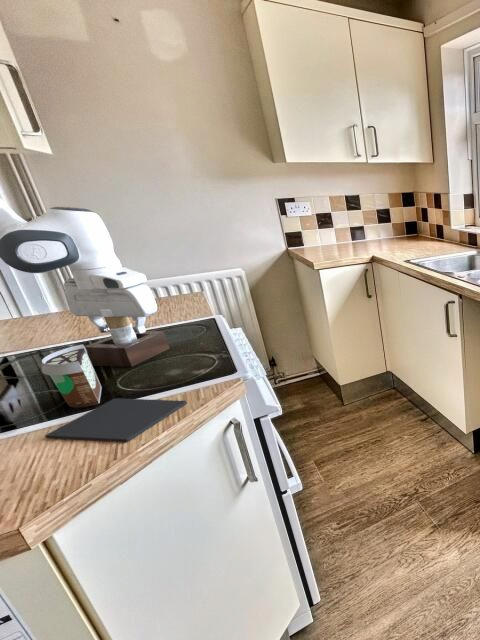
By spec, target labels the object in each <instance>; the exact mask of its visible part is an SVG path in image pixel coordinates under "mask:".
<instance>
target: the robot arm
mask: <svg viewBox="0 0 480 640" xmlns="http://www.w3.org/2000/svg"><path fill="white" fill-rule="evenodd" d="M114 249H115V246H114V243H113V239H112V237H111V234H110V233H109V231H108V229H107V226H106V224H105V222H104V221H103V219H102V218H101V216H100V215H99V214H97V213H96V212H94V211H93V210H90V209H87V208H84V207H83V208H80V207H70V206H53V207H50V208H48V209H47V211H46V212H44V213H42V214H41V215H39V216H37V217H35V218H33V219H32V220H30V221H28V220H26V219H25V218H23V217H21V216H20V215H19V214H18V213H16V212H15V211H14V210H13V209H12V208H11V207H10V205H8V204H7V203H6V202H5V201H4V200H3V199H2V198H1V197H0V259H1V260H2V261H3V262H4V264H6V265H7V266H9V267H10V268H12V269H15V270H17V271H19V272H23V273H28V274H44V273H45V274H46V273H49V272H52V271H54V270H57V269H61V268H64V267H68V268H69V270H70V273H71V275H72V277H68V278H66V280H65V281H64V282H63V287H64V297H65V300H66V303H67V306H68V309H69V311H70V313H71V314H73V315H74V316H75V317H88V319H89V321H90V322H91V323H92V324H93V325H94V326H96V327H97V329H98V331H99V333H101V334H107V333H110V331H109V328H108V325H107V323H106V321H105V319H104V317H103V316H102V314H101V311H100V310H101V309H110V310H111V311H112V314H113V315H114V317H128V318H131V319H132V321H133V322H134V326H133V327H132V328H133V330H134V333H144V332H146V331H147V329H146V327H145V324H146V320H147V317H149V316H153V315H155V314H156V313H157V311H158V304H157V302H156V299H155V296H154V294H153V292H152V290H151V288H150V286H148V284H146V282H147V281H148V279H147V276H146V275H145V274H144V273H142V272H139V271H136V270H133V269H130V268H127V267H125V266H123V265H122V263H121V260H120V258H118V256H117V255H116V253H115V250H114Z"/></svg>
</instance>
